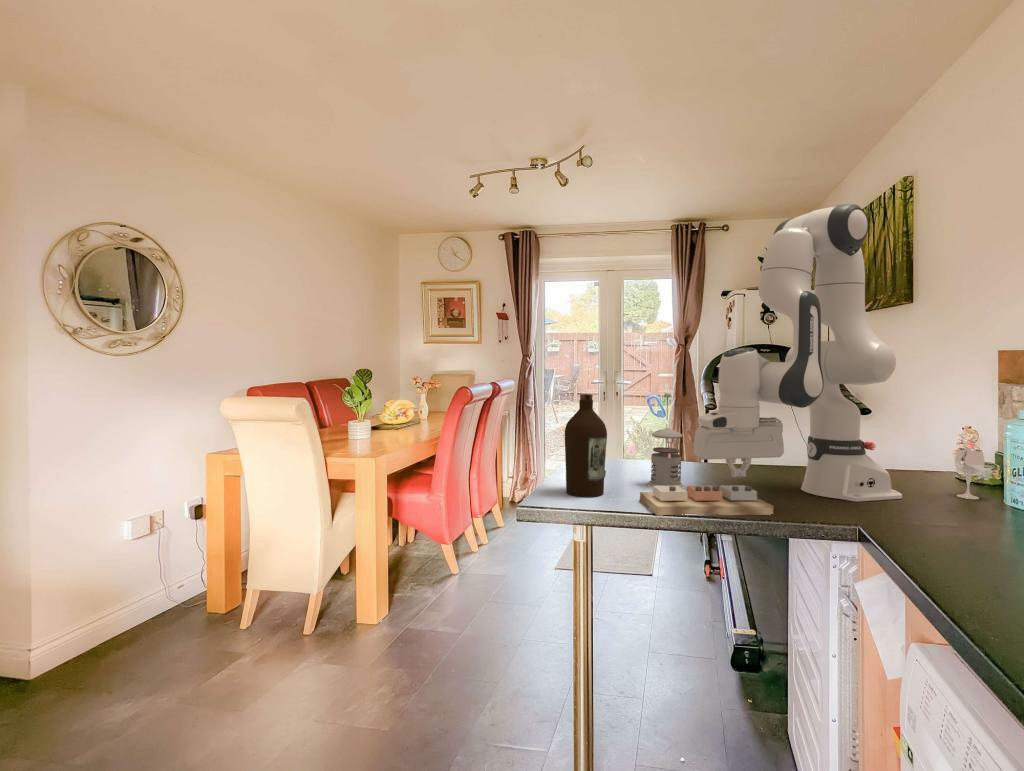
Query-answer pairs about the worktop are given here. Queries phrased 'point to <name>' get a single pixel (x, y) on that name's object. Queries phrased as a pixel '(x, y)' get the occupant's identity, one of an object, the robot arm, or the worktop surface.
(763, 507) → the button board
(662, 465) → the french press
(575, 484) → the olive oil
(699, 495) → the tile three
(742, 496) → the tile two
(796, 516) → the worktop surface
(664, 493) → the tile one
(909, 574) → the worktop surface
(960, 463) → the wineglass
